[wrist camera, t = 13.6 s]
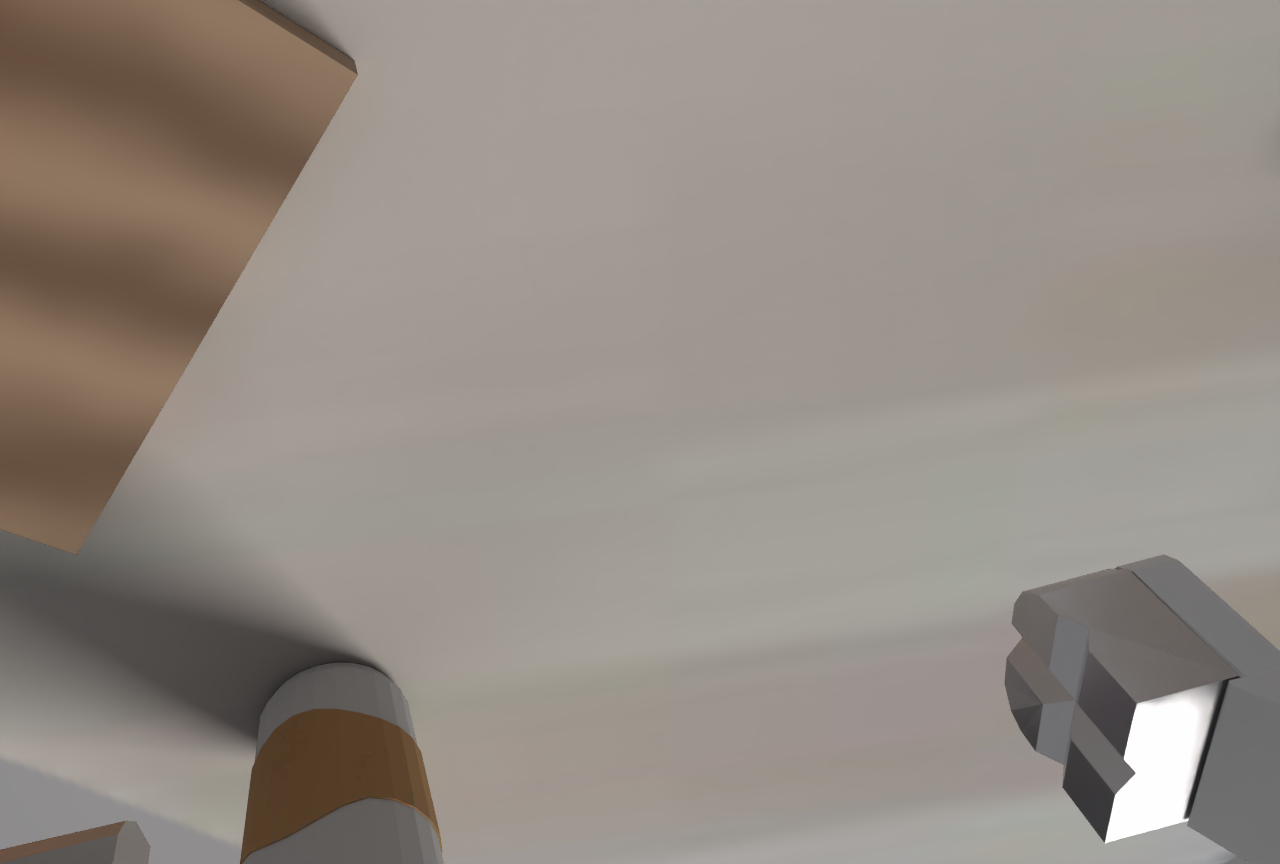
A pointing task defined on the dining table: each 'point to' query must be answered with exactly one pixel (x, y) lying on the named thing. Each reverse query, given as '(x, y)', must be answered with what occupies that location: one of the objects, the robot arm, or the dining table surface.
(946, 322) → the dining table surface
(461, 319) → the dining table surface
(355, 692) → the coffee cup
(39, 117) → the shelf plank
